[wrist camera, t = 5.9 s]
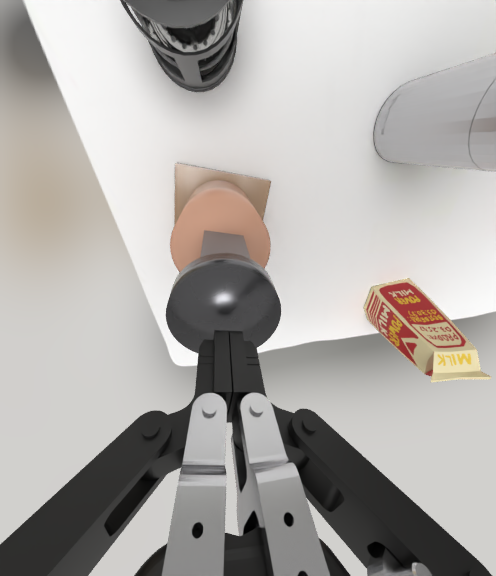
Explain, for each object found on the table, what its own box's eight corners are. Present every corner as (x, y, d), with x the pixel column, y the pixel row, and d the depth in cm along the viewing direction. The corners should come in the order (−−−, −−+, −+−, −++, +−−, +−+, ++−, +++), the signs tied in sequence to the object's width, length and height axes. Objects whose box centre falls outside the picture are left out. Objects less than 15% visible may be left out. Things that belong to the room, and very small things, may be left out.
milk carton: (408, 278, 46) (519, 354, 29) (400, 312, 51) (490, 393, 34) (365, 287, 46) (451, 369, 29) (361, 320, 51) (432, 406, 34)
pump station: (268, 179, 33) (338, 225, 14) (253, 254, 39) (287, 355, 20) (176, 162, 30) (112, 189, 12) (175, 245, 36) (133, 351, 18)
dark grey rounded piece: (263, 223, 21) (294, 274, 13) (249, 286, 25) (267, 358, 16) (187, 211, 20) (165, 260, 11) (184, 280, 23) (166, 355, 15)
